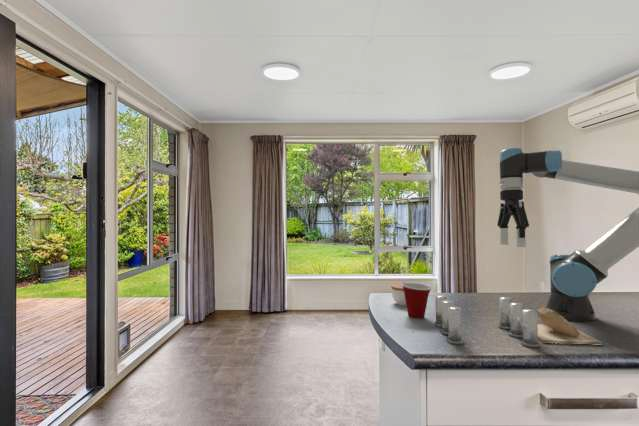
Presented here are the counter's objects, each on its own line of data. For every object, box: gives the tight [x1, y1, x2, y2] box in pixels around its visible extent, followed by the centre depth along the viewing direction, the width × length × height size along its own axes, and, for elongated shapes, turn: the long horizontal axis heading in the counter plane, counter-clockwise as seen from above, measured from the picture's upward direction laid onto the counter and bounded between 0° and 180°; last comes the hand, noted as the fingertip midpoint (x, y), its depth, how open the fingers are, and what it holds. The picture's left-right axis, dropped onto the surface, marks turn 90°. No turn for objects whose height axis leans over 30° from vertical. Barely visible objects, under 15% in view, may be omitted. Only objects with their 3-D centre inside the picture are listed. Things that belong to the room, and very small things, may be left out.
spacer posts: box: [434, 294, 540, 349], centre depth 106 cm, size 25×20×10 cm
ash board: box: [537, 323, 603, 345], centre depth 105 cm, size 16×16×1 cm
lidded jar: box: [390, 281, 406, 306], centre depth 146 cm, size 11×11×9 cm
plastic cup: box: [401, 282, 432, 320], centre depth 126 cm, size 11×11×12 cm
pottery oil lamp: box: [536, 305, 580, 337], centre depth 105 cm, size 9×12×7 cm
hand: (512, 245), depth 126 cm, fingers open, 13 cm apart
